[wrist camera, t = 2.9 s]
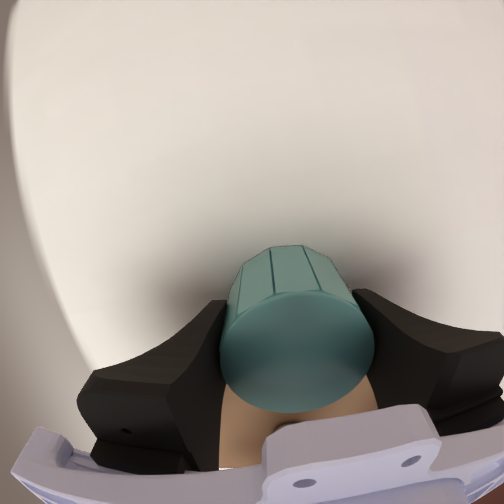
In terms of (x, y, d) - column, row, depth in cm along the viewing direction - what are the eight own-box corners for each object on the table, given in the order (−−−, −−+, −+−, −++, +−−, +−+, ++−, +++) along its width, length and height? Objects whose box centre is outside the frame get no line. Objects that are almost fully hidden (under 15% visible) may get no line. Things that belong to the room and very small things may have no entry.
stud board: (395, 351, 14) (419, 394, 11) (366, 446, 18) (376, 482, 14) (179, 368, 15) (163, 417, 12) (210, 459, 18) (205, 496, 15)
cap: (345, 242, 12) (383, 287, 8) (339, 340, 14) (363, 403, 10) (224, 250, 13) (208, 301, 8) (237, 348, 14) (230, 415, 10)
